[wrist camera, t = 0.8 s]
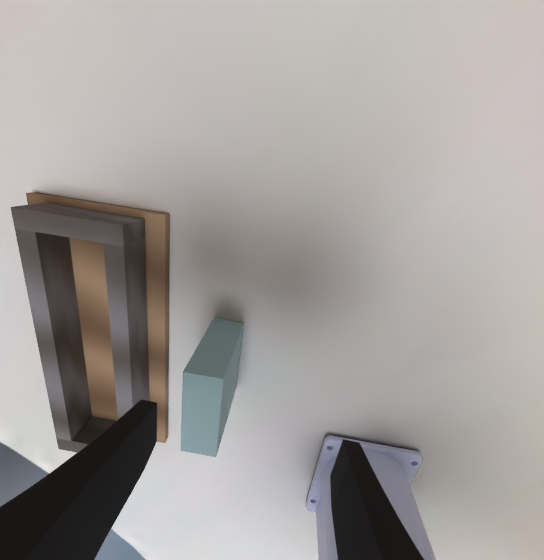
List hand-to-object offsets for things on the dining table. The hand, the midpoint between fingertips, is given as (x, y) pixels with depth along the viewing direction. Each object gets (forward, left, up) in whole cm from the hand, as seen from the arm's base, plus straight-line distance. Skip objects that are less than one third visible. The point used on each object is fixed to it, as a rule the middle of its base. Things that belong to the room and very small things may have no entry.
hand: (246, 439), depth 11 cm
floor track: (-4, +12, -10) cm, 16 cm away
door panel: (-4, +3, -10) cm, 11 cm away
